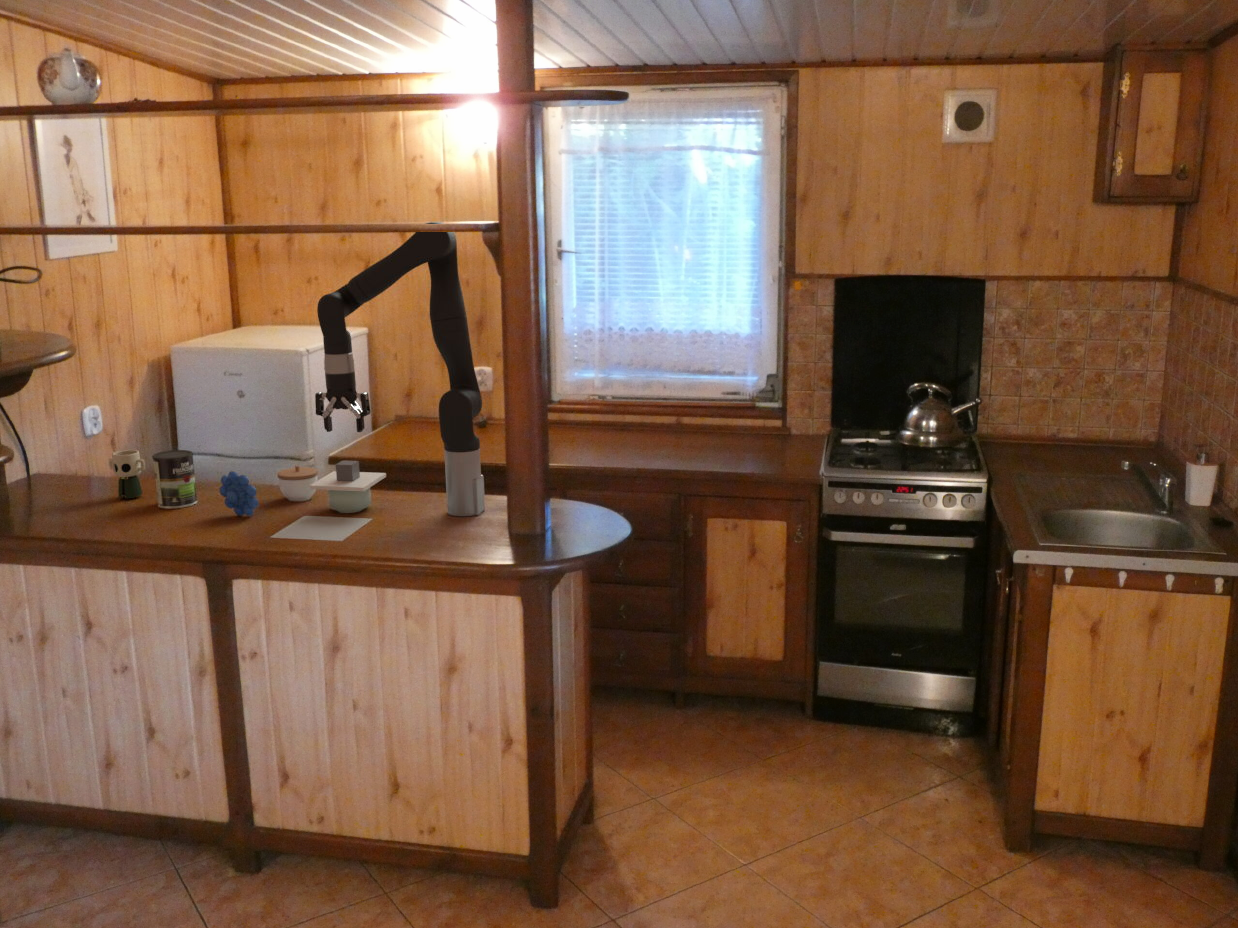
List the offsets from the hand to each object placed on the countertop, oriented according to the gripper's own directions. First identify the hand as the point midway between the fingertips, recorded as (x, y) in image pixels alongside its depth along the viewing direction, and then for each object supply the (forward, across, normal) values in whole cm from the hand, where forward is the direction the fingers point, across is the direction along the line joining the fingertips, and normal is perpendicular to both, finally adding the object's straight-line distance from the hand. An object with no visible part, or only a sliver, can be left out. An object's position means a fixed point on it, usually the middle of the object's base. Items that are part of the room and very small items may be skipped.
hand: (344, 431), depth 293 cm
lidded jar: (+22, +19, -9) cm, 30 cm away
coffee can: (+21, +50, +1) cm, 55 cm away
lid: (+14, 0, 0) cm, 14 cm away
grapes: (+22, +27, +10) cm, 36 cm away
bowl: (+22, 0, 0) cm, 22 cm away
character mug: (+21, +67, -3) cm, 71 cm away
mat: (+22, 0, +17) cm, 27 cm away
